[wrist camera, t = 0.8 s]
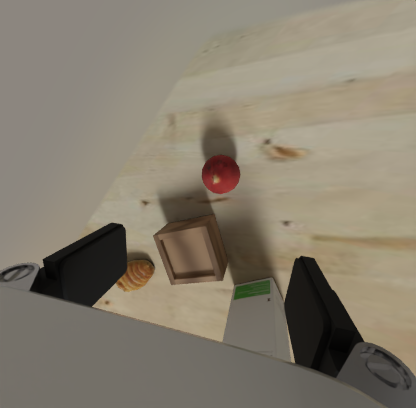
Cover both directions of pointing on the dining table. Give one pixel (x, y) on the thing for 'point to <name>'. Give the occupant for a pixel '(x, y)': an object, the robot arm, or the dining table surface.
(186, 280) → the wooden crate
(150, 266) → the pastry
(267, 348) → the skincare box
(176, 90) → the dining table surface
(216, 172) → the onion
